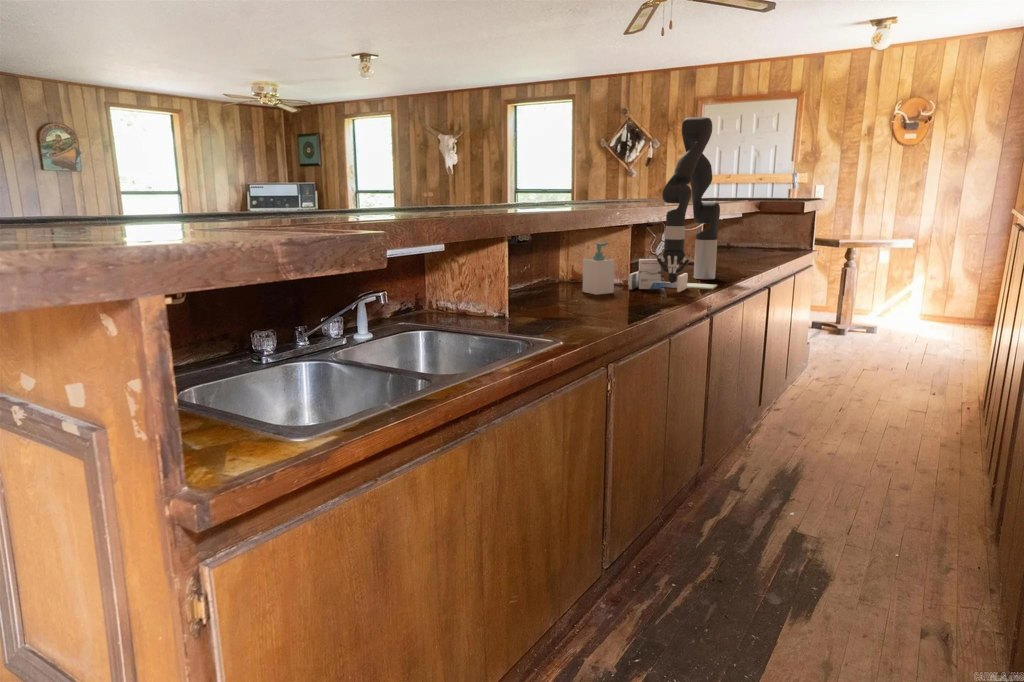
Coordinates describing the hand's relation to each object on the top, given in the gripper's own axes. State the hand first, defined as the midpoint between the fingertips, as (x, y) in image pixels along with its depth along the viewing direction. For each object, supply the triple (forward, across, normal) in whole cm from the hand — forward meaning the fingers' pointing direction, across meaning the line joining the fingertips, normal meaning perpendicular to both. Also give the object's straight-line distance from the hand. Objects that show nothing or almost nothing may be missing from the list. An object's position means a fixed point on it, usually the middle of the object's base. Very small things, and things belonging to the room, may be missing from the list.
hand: (672, 282), depth 266 cm
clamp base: (+4, +8, -5) cm, 10 cm away
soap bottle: (+4, +25, +15) cm, 29 cm away
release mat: (+4, -7, -18) cm, 19 cm away
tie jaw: (+4, -3, -4) cm, 6 cm away
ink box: (+4, +11, -5) cm, 12 cm away
